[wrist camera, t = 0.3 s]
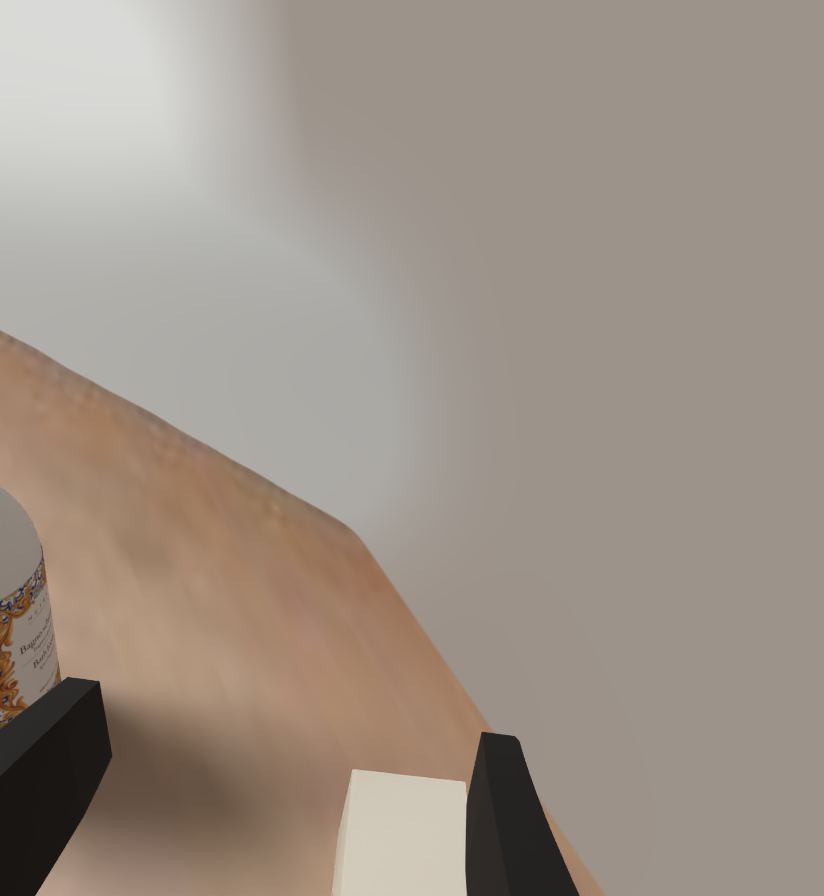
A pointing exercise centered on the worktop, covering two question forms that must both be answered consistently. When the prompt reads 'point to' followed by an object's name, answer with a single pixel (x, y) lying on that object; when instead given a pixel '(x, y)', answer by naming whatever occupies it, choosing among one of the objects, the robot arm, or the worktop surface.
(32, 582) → the bath foam
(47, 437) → the worktop surface
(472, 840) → the robot arm
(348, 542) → the worktop surface
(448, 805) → the cube
